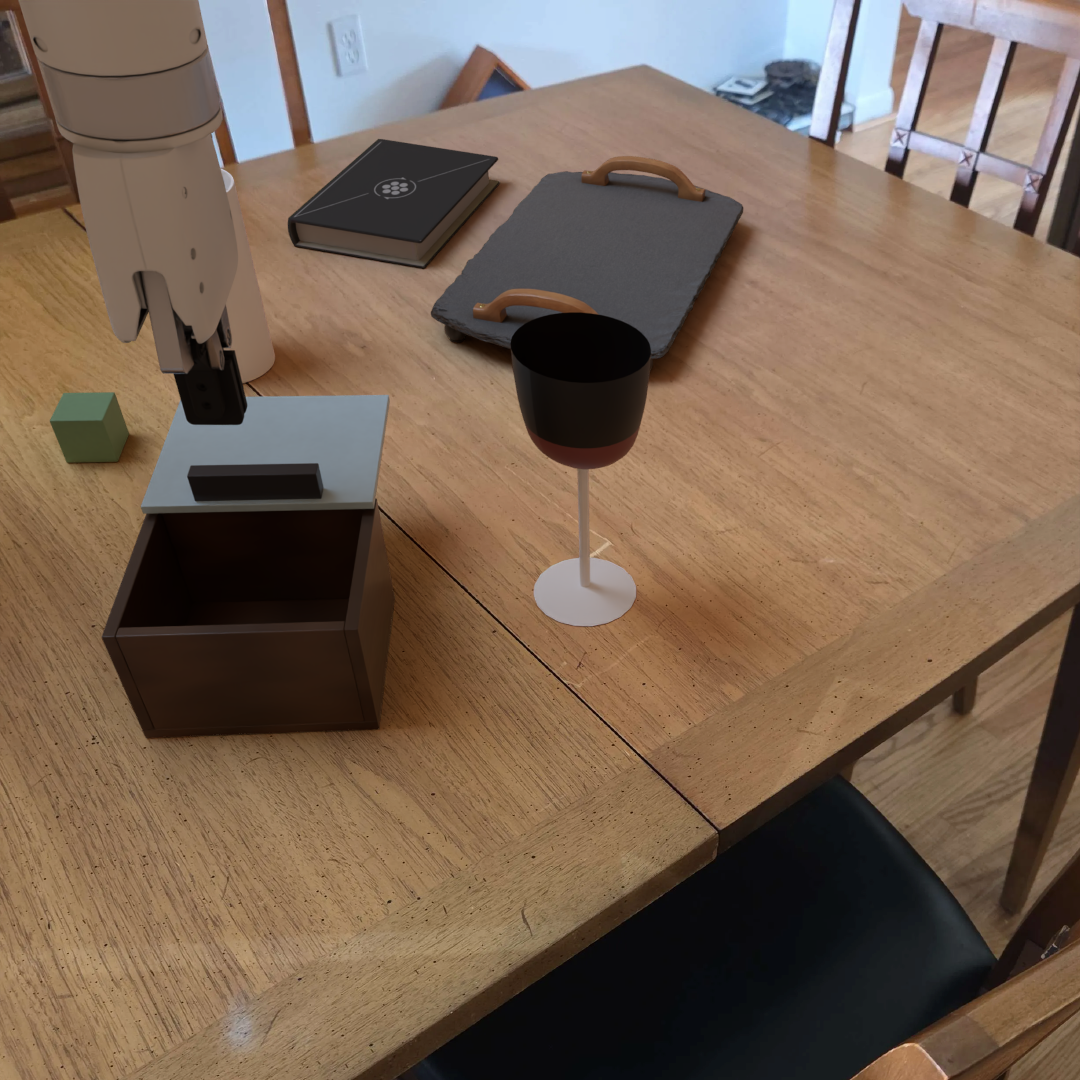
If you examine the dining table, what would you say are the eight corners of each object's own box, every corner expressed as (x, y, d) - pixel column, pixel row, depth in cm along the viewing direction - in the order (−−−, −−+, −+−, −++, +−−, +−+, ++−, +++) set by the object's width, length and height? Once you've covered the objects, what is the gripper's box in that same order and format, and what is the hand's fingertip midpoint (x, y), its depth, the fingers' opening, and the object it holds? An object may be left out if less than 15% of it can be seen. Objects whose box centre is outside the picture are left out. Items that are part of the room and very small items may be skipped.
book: (379, 164, 134) (376, 137, 132) (500, 183, 132) (498, 156, 130) (290, 246, 120) (284, 218, 117) (424, 269, 117) (420, 240, 115)
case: (145, 738, 73) (100, 637, 67) (185, 603, 82) (149, 502, 76) (379, 729, 75) (357, 629, 68) (394, 598, 83) (377, 498, 77)
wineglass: (560, 541, 88) (551, 299, 74) (662, 578, 86) (673, 335, 72) (505, 603, 83) (484, 357, 69) (611, 644, 81) (613, 397, 67)
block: (66, 463, 93) (48, 420, 90) (79, 434, 96) (63, 392, 93) (117, 462, 93) (102, 420, 90) (129, 433, 96) (114, 391, 93)
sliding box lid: (142, 514, 74) (130, 481, 72) (183, 404, 83) (173, 372, 81) (374, 509, 76) (368, 476, 74) (390, 401, 84) (385, 370, 82)
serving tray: (655, 400, 102) (657, 337, 98) (413, 354, 106) (404, 291, 102) (751, 217, 129) (756, 160, 124) (554, 185, 132) (552, 129, 128)
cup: (160, 365, 103) (103, 187, 92) (233, 328, 108) (188, 154, 96) (222, 397, 100) (172, 217, 89) (294, 358, 105) (256, 182, 93)
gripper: (92, 33, 60) (178, 349, 73) (2, 152, 50) (121, 495, 63) (241, 39, 61) (300, 351, 74) (183, 157, 50) (264, 495, 64)
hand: (218, 416), depth 68 cm, fingers closed
